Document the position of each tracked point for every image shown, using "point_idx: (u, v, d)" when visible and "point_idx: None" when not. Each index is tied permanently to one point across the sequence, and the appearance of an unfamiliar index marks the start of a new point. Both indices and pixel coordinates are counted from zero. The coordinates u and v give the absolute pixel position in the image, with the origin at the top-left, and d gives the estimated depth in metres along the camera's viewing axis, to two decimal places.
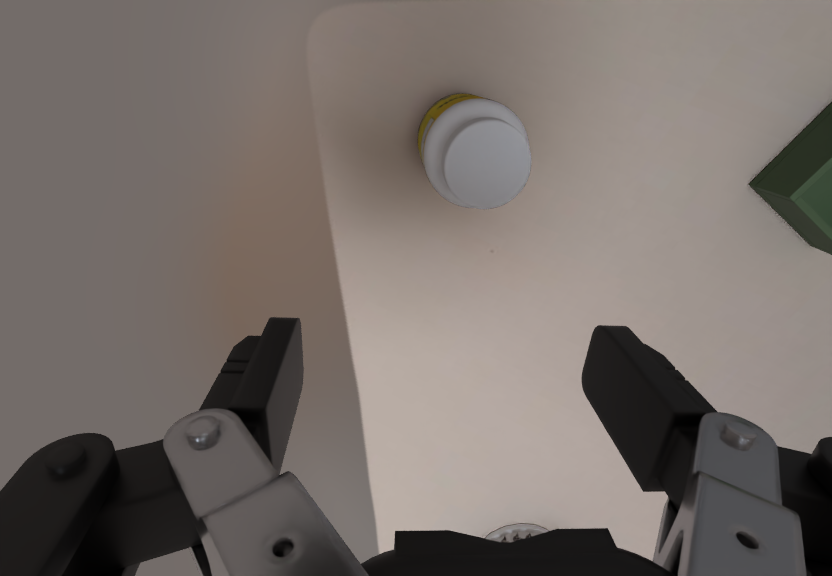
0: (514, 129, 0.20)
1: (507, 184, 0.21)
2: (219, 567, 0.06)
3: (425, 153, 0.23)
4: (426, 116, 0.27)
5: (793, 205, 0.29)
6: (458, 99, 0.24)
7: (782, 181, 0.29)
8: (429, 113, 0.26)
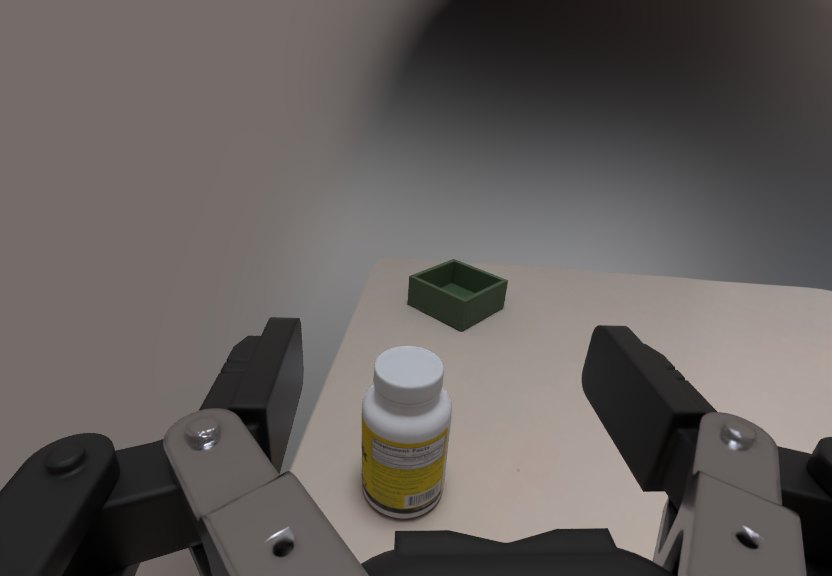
0: (385, 351, 0.27)
1: (425, 357, 0.27)
2: (219, 567, 0.06)
3: (397, 434, 0.25)
4: (373, 489, 0.28)
5: (471, 302, 0.48)
6: (362, 432, 0.28)
7: (457, 311, 0.48)
8: (371, 482, 0.28)
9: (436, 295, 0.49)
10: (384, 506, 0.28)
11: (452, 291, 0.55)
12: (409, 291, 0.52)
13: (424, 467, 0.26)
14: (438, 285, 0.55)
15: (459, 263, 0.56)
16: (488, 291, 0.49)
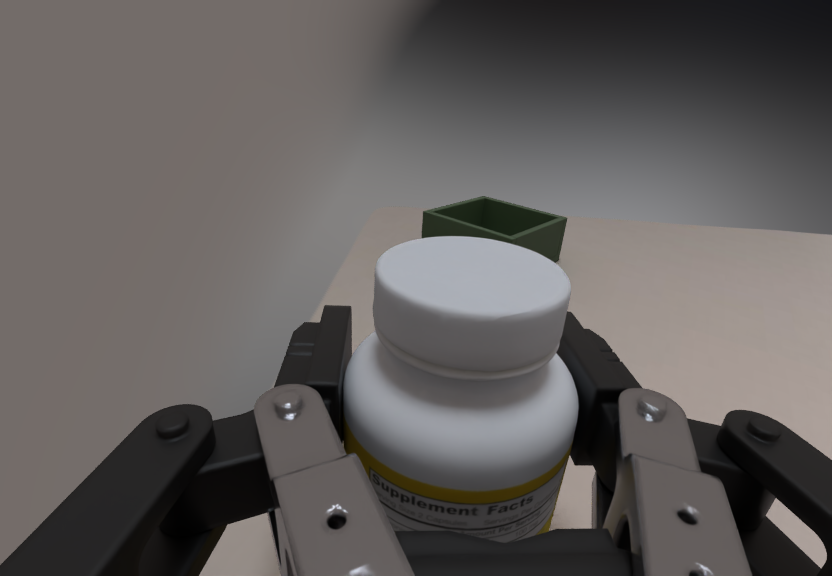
0: (403, 243, 0.10)
1: (508, 254, 0.10)
2: (281, 526, 0.06)
3: (445, 464, 0.08)
4: None
5: (520, 242, 0.31)
6: None
7: None
8: None
9: (465, 235, 0.33)
10: None
11: None
12: (423, 235, 0.36)
13: None
14: None
15: (492, 201, 0.39)
16: (543, 229, 0.33)
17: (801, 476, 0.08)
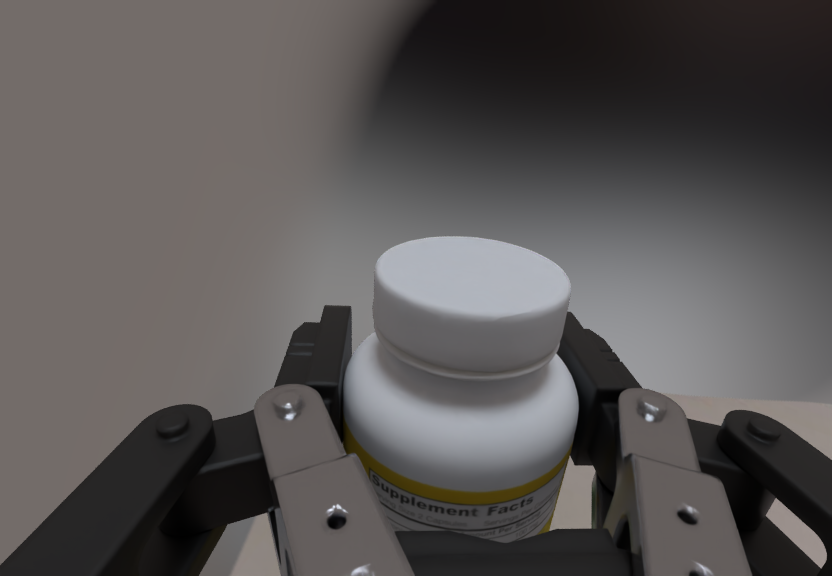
0: (402, 243, 0.10)
1: (508, 254, 0.10)
2: (281, 526, 0.06)
3: (445, 465, 0.08)
4: None
5: None
6: None
7: None
8: None
9: None
10: None
11: None
12: None
13: None
14: None
15: None
16: None
17: (801, 476, 0.08)
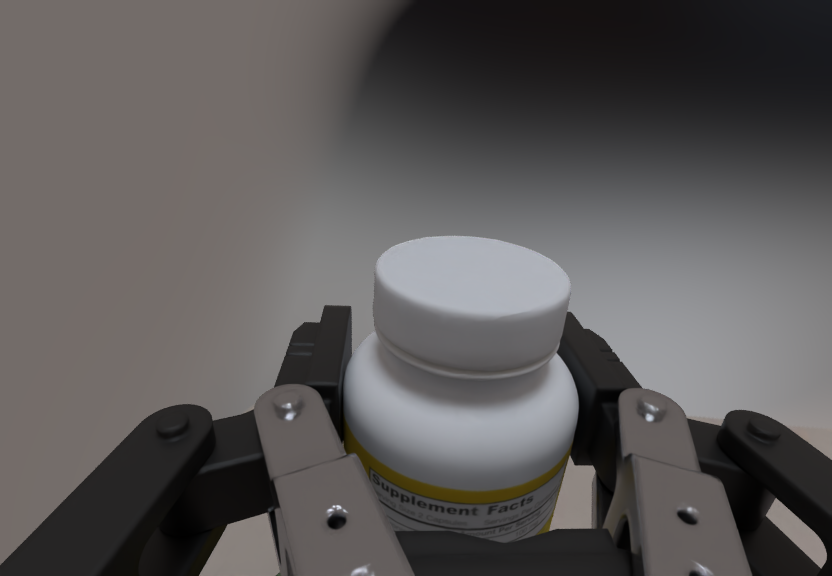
0: (403, 243, 0.10)
1: (508, 254, 0.10)
2: (281, 526, 0.06)
3: (445, 464, 0.08)
4: None
5: None
6: None
7: None
8: None
9: None
10: None
11: None
12: None
13: None
14: None
15: None
16: None
17: (801, 476, 0.08)
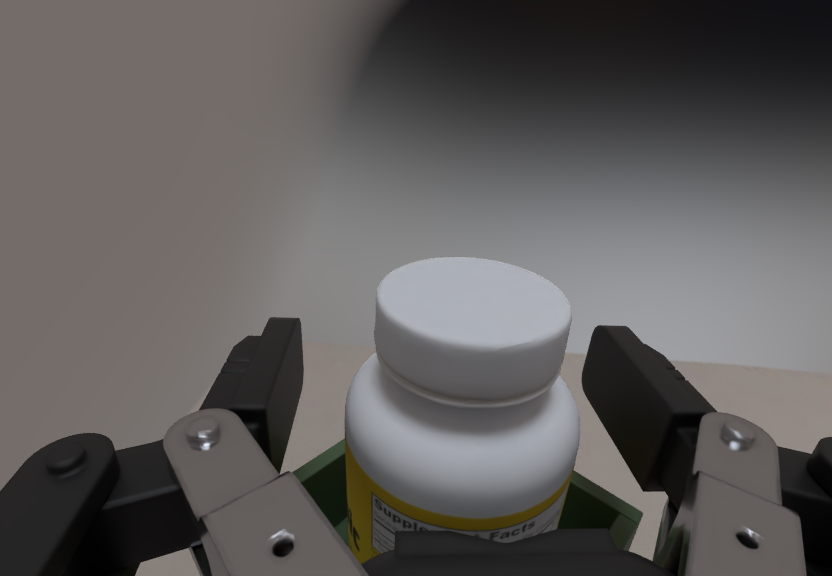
0: (404, 266, 0.10)
1: (509, 277, 0.10)
2: (219, 567, 0.06)
3: (447, 492, 0.08)
4: None
5: None
6: (346, 473, 0.11)
7: None
8: None
9: None
10: None
11: None
12: None
13: None
14: None
15: None
16: None
17: None
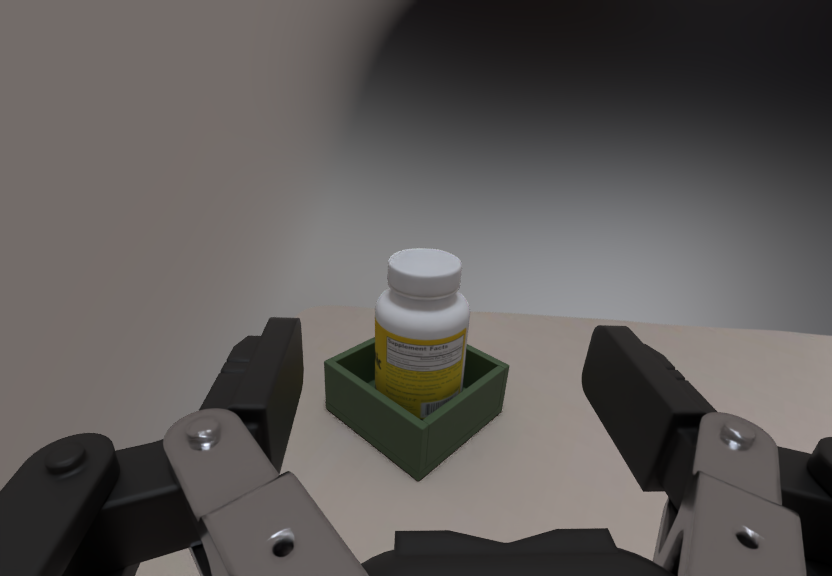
0: (399, 251, 0.26)
1: (441, 255, 0.25)
2: (219, 567, 0.06)
3: (413, 329, 0.23)
4: None
5: (436, 425, 0.23)
6: (375, 339, 0.26)
7: (408, 443, 0.24)
8: (385, 391, 0.26)
9: (370, 405, 0.25)
10: None
11: None
12: (326, 387, 0.28)
13: (441, 370, 0.25)
14: None
15: None
16: (472, 395, 0.25)
17: None
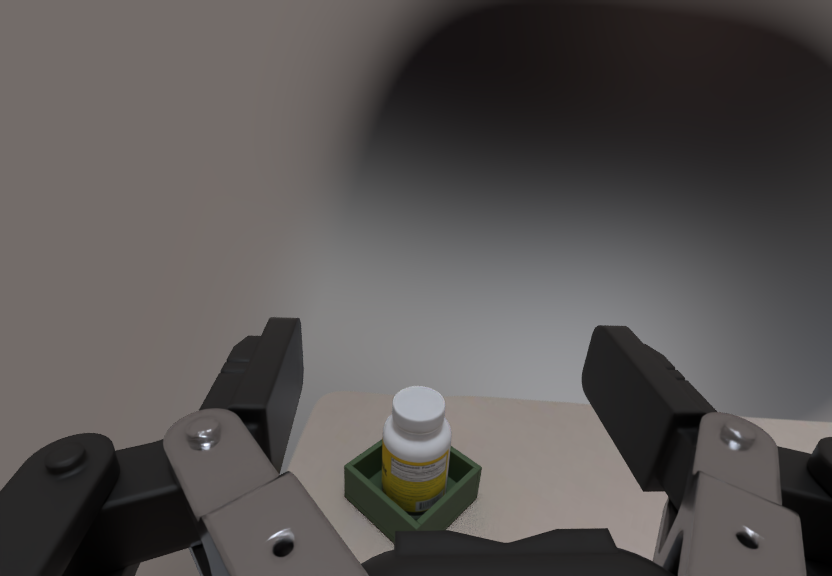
0: (400, 391, 0.35)
1: (430, 395, 0.35)
2: (219, 567, 0.06)
3: (410, 455, 0.33)
4: (392, 496, 0.36)
5: (426, 523, 0.33)
6: (382, 452, 0.36)
7: None
8: (390, 491, 0.36)
9: (379, 504, 0.35)
10: None
11: None
12: (345, 483, 0.38)
13: (430, 480, 0.34)
14: None
15: None
16: (452, 496, 0.35)
17: None
